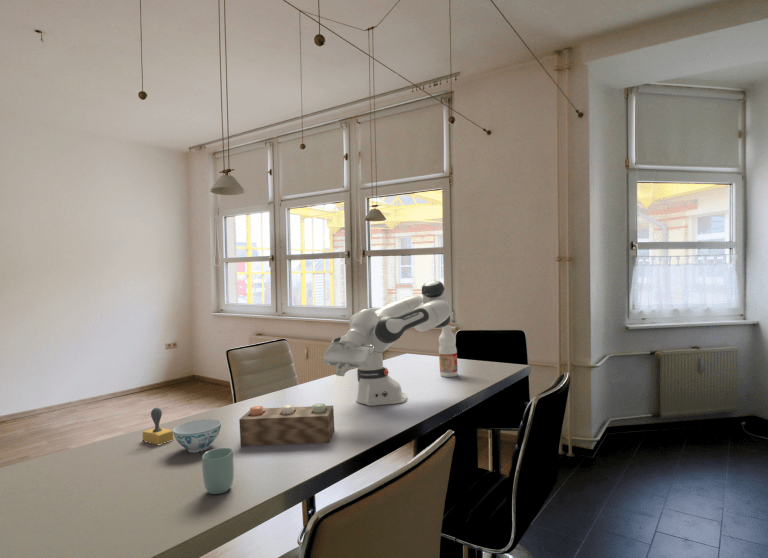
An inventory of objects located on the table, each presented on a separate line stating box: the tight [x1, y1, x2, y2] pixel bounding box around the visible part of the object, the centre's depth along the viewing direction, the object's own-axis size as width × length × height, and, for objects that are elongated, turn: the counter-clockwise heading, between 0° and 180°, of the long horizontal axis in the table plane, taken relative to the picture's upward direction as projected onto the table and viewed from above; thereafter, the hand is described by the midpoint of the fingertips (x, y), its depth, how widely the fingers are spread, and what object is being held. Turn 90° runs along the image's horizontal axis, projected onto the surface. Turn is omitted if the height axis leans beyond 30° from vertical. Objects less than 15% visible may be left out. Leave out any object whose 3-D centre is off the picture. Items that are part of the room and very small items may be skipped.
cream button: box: [280, 404, 295, 415], centre depth 158 cm, size 4×4×3 cm
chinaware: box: [172, 418, 222, 453], centre depth 152 cm, size 15×15×8 cm
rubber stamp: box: [142, 407, 174, 446], centre depth 162 cm, size 10×6×12 cm, turn 58°
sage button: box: [311, 403, 326, 413], centre depth 157 cm, size 4×4×3 cm
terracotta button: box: [249, 405, 264, 416], centre depth 158 cm, size 4×4×3 cm
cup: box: [201, 447, 235, 495], centre depth 120 cm, size 8×8×10 cm
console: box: [239, 405, 335, 447], centre depth 158 cm, size 30×12×9 cm, turn 87°
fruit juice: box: [438, 322, 459, 378], centre depth 241 cm, size 9×9×28 cm
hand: (339, 375), depth 166 cm, fingers closed
